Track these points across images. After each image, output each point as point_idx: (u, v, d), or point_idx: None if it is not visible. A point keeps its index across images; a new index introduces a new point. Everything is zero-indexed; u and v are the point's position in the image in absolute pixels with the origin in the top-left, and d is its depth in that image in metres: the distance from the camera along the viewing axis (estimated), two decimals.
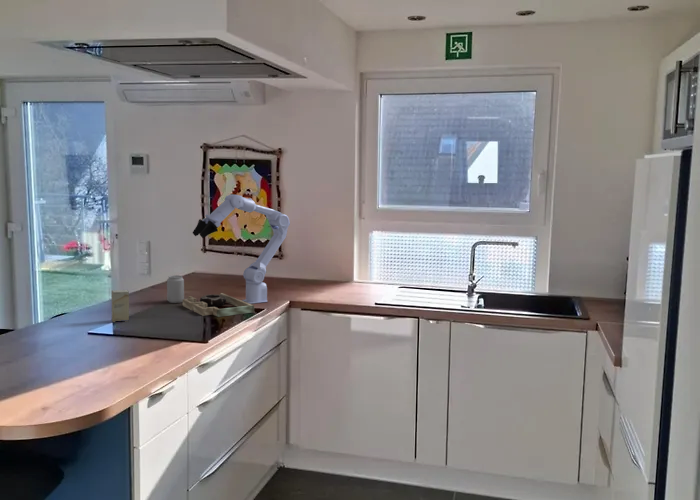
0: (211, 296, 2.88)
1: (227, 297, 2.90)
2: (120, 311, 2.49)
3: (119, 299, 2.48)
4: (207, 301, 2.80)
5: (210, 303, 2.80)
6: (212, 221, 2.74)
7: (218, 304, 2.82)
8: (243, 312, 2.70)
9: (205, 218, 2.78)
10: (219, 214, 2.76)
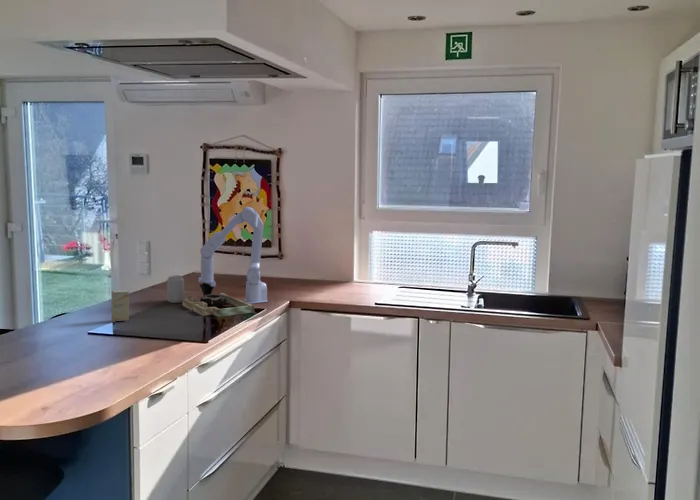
0: (211, 296, 2.88)
1: (227, 297, 2.90)
2: (120, 311, 2.49)
3: (119, 299, 2.48)
4: (207, 301, 2.80)
5: (210, 303, 2.80)
6: None
7: (218, 304, 2.81)
8: (243, 312, 2.70)
9: None
10: (207, 273, 2.87)
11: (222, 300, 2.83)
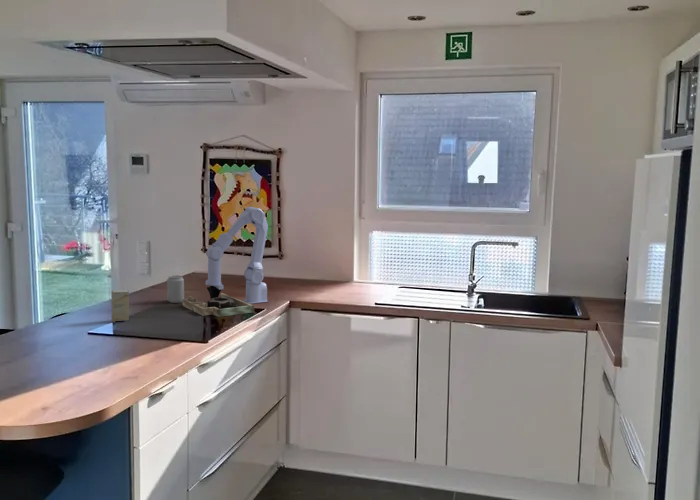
0: (219, 299, 2.82)
1: (227, 297, 2.90)
2: (120, 311, 2.49)
3: (119, 299, 2.48)
4: (215, 304, 2.74)
5: (218, 306, 2.74)
6: (215, 285, 2.81)
7: (226, 307, 2.75)
8: (243, 312, 2.70)
9: None
10: (214, 275, 2.81)
11: (230, 303, 2.76)
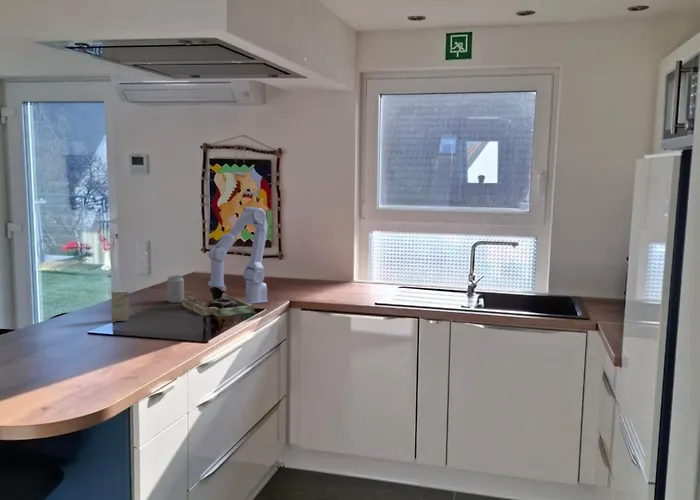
0: (222, 300, 2.79)
1: (227, 297, 2.90)
2: (120, 311, 2.49)
3: (119, 299, 2.48)
4: (218, 306, 2.72)
5: (221, 308, 2.72)
6: (217, 287, 2.79)
7: None
8: (243, 312, 2.70)
9: None
10: (217, 276, 2.78)
11: (233, 305, 2.74)
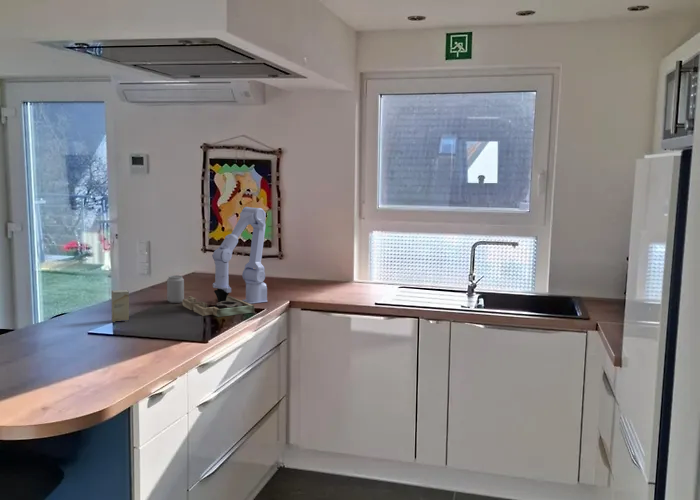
0: (226, 303, 2.75)
1: (227, 297, 2.90)
2: (120, 311, 2.49)
3: (119, 299, 2.48)
4: (223, 308, 2.68)
5: None
6: (222, 288, 2.75)
7: None
8: (243, 312, 2.70)
9: (214, 286, 2.79)
10: (222, 278, 2.75)
11: None
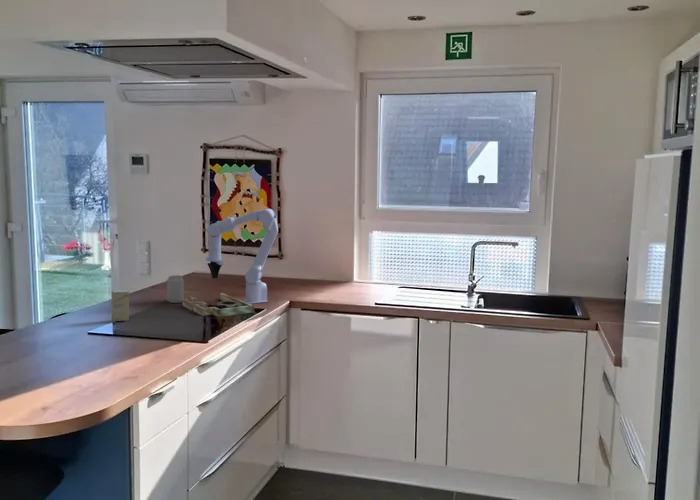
0: (226, 302, 2.75)
1: (227, 297, 2.90)
2: (120, 311, 2.49)
3: (119, 299, 2.48)
4: (223, 308, 2.68)
5: None
6: (215, 261, 2.90)
7: None
8: (243, 312, 2.70)
9: None
10: (215, 251, 2.90)
11: None
